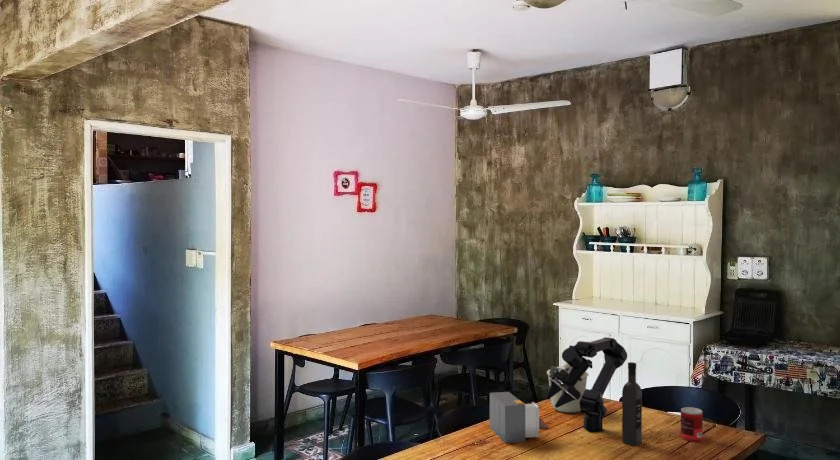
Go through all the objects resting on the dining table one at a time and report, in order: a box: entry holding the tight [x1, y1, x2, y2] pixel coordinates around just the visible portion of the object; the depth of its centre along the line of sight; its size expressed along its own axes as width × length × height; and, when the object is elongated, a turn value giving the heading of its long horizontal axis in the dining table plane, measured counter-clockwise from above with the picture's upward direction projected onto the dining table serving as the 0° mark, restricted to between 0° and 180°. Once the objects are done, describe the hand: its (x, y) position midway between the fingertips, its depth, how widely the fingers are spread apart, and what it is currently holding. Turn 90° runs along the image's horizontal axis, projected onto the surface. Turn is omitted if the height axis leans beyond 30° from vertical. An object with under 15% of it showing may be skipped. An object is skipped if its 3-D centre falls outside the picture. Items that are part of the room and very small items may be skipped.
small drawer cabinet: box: [489, 391, 526, 444], centre depth 243 cm, size 9×19×14 cm, turn 11°
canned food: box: [680, 406, 704, 443], centre depth 239 cm, size 8×8×11 cm
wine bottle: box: [621, 361, 643, 447], centre depth 234 cm, size 6×6×30 cm
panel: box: [524, 401, 540, 439], centre depth 238 cm, size 8×6×12 cm
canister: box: [546, 361, 589, 414], centre depth 277 cm, size 18×18×21 cm
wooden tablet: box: [539, 416, 549, 430], centre depth 263 cm, size 27×10×2 cm, turn 2°
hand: (551, 402), depth 241 cm, fingers open, 9 cm apart
